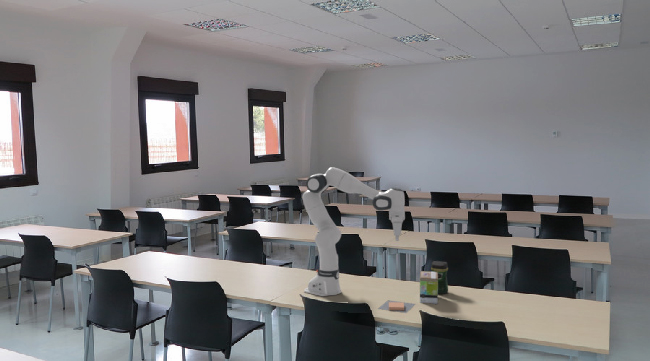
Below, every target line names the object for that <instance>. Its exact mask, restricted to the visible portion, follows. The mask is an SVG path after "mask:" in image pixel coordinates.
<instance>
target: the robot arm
mask: <svg viewBox="0 0 650 361" xmlns="http://www.w3.org/2000/svg"><path fill="white" fill-rule="evenodd" d="M305 184H306V185H305V186H306V188H307V190H306V191H304V192H303V194H302V196H301V197H302V198H301V199H302V203H303V205H304V209H305V212H307V214H308V217H309V219H310V222H311V224H313V225H314V226H315V227H316V229H317V230H318V232H317V234H316V235H315V238H314V243H315V245H316V246H317V251H318V256H319V268H318V269H316V270H315V273H317V274H315V276H314V277H312V278H311V279H310V280H309V281H308V284H307V287H305V288H304V290H303V292H304V293H305V294H311V295H316V296H320V297H327V296H336V295H339V294H341V293H342V289H341V284H340V269H339V254H338V253H337V248H336V244H337V243H338V242H340V240H341V237H342V231H341V229H340V228H339V227H338V226H337V224H335V222H334V221H333V219H332V218H331V216H330V215H329V212H328V210H327V208H326V207H325V204H324V201H323V199H322V196H321V195H322V194H324V193H325V191H327V190H328V189H329V187H330V186H331V187H334V188H336V189H337V190H339V191H341V192H343V193H346V194H359V195H362V196H363V197H367V198H369V199H371V200H372V206H373V208H374V209H375V210H376V211H380V212H383V211H387V210H388V214H389V215H388V217H389V218H388V220H390V222H391V223H392V230H393V235H394V236H395V237H394V238H395V241H396V242H398V241H400V239H399V238H400V236H401V233H402V225H403V222H404V221H405V219H406V214H405V213H406V211H405V202H406V201H405V200H406V199H405V193H404V191H403V189H401V188H398V187H395V188H394V187H391V188H389V189H388V190H386V191H385V190H384V191H383V190H381V191H380V190H378V189H376V188H374V187H372V186H371V185H370V186H369V185H368V184H366V183H364V182H362V181H361V180H359V179H358V178H357V177H355V176H354V175H352V174H350V172H347V171H345V170H343V169H340V168H337V167H334V166H332V167H329V168H328V169H327V170H326V171H325V173H321V172H320V173H314V174H312V175H310V176H309V177H308V178H307V180H306V183H305Z"/></svg>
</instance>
